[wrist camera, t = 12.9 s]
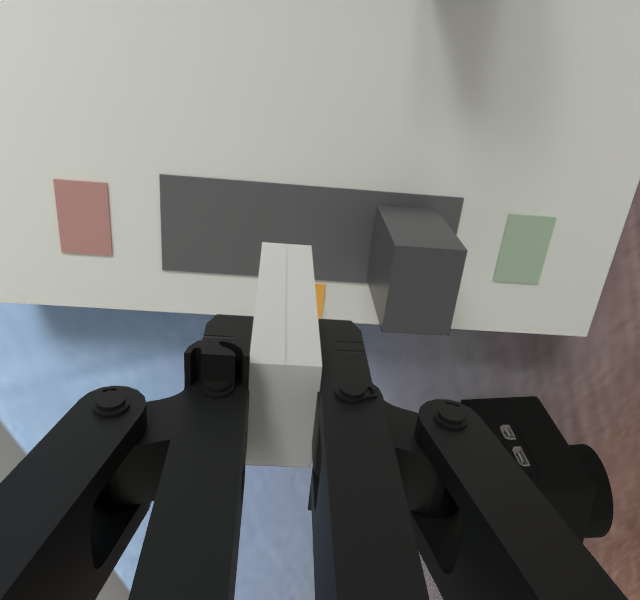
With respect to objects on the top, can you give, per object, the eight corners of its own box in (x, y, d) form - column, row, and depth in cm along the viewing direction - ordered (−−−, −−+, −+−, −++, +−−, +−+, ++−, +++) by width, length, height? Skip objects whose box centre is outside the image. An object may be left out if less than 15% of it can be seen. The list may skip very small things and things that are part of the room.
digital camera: (533, 530, 36) (583, 637, 30) (447, 535, 36) (480, 644, 30) (559, 393, 32) (625, 487, 26) (460, 398, 32) (502, 493, 25)
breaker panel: (-60, -306, 18) (-122, -362, 16) (713, -198, 20) (779, -231, 18) (24, 273, 27) (-7, 302, 24) (559, 306, 29) (587, 337, 26)
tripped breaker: (377, 204, 23) (395, 245, 19) (436, 209, 23) (467, 250, 19) (366, 279, 24) (381, 331, 20) (423, 283, 24) (449, 335, 20)
